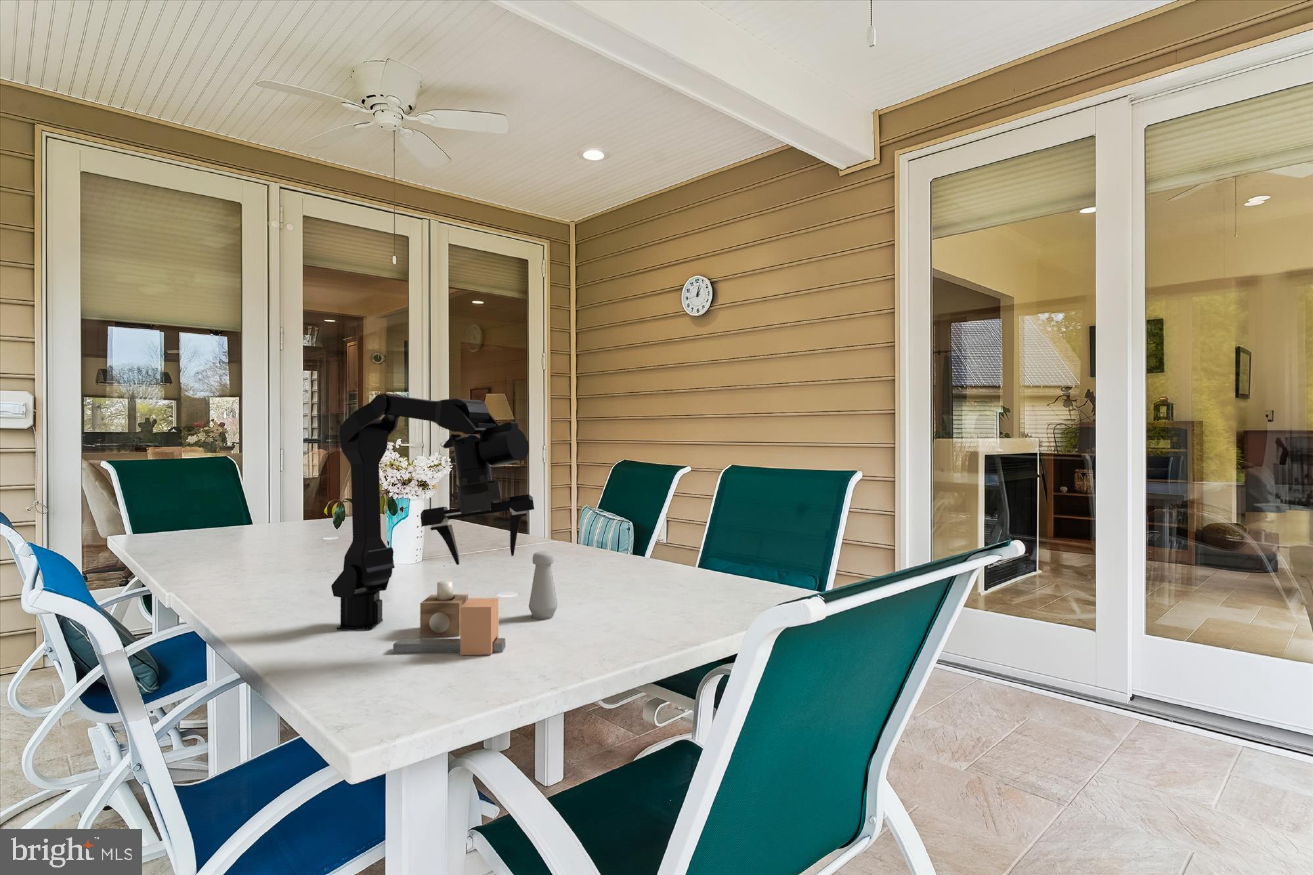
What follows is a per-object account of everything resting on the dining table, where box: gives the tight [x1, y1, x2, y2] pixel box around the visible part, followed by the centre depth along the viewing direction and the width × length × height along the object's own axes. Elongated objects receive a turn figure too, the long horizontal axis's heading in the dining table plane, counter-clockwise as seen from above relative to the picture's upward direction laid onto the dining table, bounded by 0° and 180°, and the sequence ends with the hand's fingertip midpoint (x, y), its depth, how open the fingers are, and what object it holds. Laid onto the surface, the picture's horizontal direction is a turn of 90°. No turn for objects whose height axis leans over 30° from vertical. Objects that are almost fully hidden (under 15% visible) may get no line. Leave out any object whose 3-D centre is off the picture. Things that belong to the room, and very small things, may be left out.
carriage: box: [459, 597, 500, 656], centre depth 118 cm, size 5×7×8 cm
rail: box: [392, 637, 506, 654], centre depth 117 cm, size 18×3×2 cm, turn 92°
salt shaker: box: [528, 550, 559, 620], centre depth 140 cm, size 6×6×13 cm
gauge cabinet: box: [419, 593, 469, 637], centre depth 129 cm, size 7×7×6 cm
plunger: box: [436, 580, 454, 600], centre depth 129 cm, size 3×3×3 cm
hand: (485, 560), depth 119 cm, fingers open, 9 cm apart
